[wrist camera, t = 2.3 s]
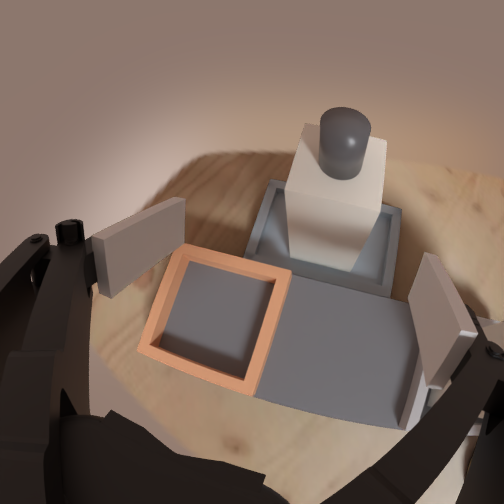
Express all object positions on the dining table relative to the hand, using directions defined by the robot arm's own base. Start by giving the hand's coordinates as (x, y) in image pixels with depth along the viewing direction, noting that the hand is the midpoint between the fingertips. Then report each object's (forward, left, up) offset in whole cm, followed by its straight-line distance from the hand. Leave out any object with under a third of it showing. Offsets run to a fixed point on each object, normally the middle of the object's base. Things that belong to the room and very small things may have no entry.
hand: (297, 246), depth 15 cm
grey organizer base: (-5, +4, -9) cm, 11 cm away
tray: (-1, -5, -9) cm, 11 cm away
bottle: (-1, -5, -9) cm, 10 cm away
